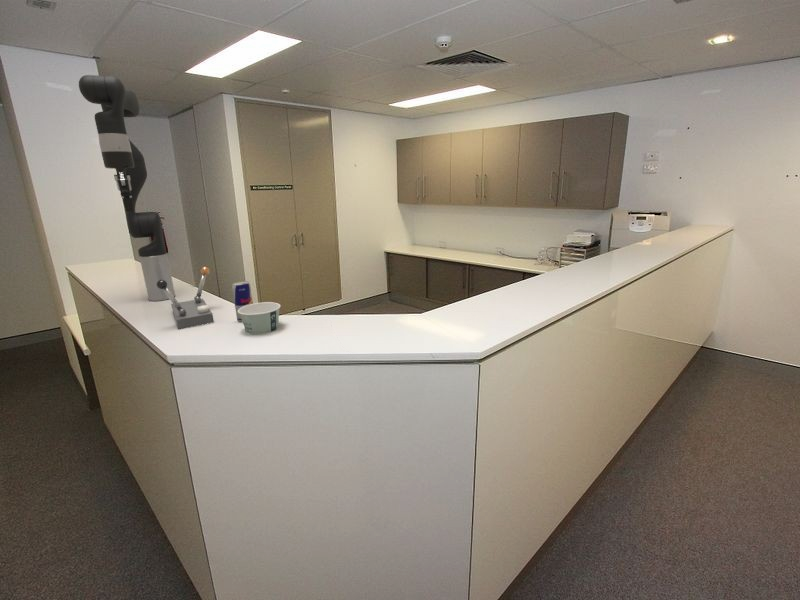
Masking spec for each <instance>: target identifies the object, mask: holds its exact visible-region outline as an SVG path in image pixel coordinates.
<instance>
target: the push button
mask: <svg viewBox="0 0 800 600" xmlns="http://www.w3.org/2000/svg"><path fill="white" fill-rule="evenodd" d="M197 308H198V313H205V312H208V311H209V309H210V308H209V304H207V305H202V306H198V307H197Z"/></svg>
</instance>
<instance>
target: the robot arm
mask: <svg viewBox="0 0 800 600" xmlns="http://www.w3.org/2000/svg"><path fill="white" fill-rule="evenodd" d="M78 88H79V91H80V93H81V95H82V97H83V98H84V99H85V100H86V101H87V102H90V103H91V104H95V105H100V107H101V109H102V111H97V112H96V113H95V114H94V121H95V127H96V130H97V131H96V132H97V134H98V135H97V136H98V143H99V147H100V152H101V157H102V160H103V165H104V168H105V169H114V170H115V172H116V174H113V177H114V178H113V179H114V181H115V182H116V187H117V190H118V191H119V192H120V197H121V199H122V202H123V206H124V211H125V220H126V224H127V230H128V232H129V234H130V236H131V237H132V238H134V239H143V238H151V237H152V238H154V239H153V240H152V242H150V243H148V244H147V245H144V246H141V247H139V248H138V250H137V252H138V256H139V257H138V258H139V261H140V265H141V270H142V271H141V272H142V274H143V279H144V283H145V288H146V292H147V297H148V300H149V301H152V302H156V301H157V302H159V301H160V302H161V301H165V300H170V299H169V298H168V296H167V295H166V294H165V292H164V291H163V290H162V289H159V288H158V287H157V285H156V284H157V282H158V281H159V280H165V281H166V282H167V288H168V289H169V290H170V292H171V293H172V295H173V296H175V297H176V293H175V292H176V291H175V287H174V286H175V285H174V282H173V277H172V271H171V267H170V263H169V262H170V261H169V256H168V254H167V253H168V252H167V249H166V243H165V238H164V237H165V236H164V230H163V224H162V219H161V217H160V214H159V213H158V211H143V212H136V205H137V201H138V197H139V195H140V192H141V191H142V188H143V187H144V186H145V185H144V184H145V183H146V180H147V177H148V172H147V171H148V170H147V167H146V161H145V158H144V155H143V154H142V152H141V151H140V150H139V148H138V147H137V146H136V145H135V144H134V143H133V142H132V141H131V140H130V139H129V137H128V133H127V128H126V123H125V118H135V117H137V116H138V115H139V114H140V105H139V99H138V97H137V95H136V93H135V92H134V90H132V89H129V88H125V85H124V84H123V82H122V81H121V80H120V79H119V78H118V77H116V76H113V75H98V74H97V75H93V74H85V75H82V76H81V77H80V78H79V79H78Z"/></svg>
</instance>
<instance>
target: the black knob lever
mask: <svg viewBox="0 0 800 600" xmlns="http://www.w3.org/2000/svg"><path fill="white" fill-rule="evenodd" d="M156 285H157V287H158V288H159V289H162V290H163V291H164V292H165V294H166V295H167V296H168V298H169V299H168V300H170V302H171V304H174V306H175V307H176V309H177V310H178V313H179V315H180V316H185V315H186V311H185V309H184V308H182V307H181V306H180V304H179V301H178V300H177V299H176V296H175V297H174V296H173V295H172V293H171V292H170V290H169V289H168V288H167V282H166V281H165V280H159V281H158V282H157V284H156Z"/></svg>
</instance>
